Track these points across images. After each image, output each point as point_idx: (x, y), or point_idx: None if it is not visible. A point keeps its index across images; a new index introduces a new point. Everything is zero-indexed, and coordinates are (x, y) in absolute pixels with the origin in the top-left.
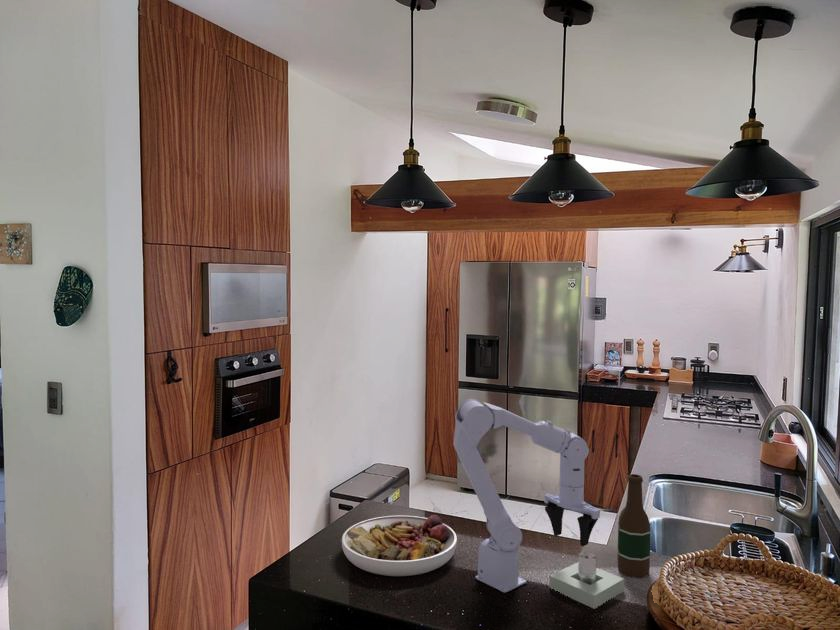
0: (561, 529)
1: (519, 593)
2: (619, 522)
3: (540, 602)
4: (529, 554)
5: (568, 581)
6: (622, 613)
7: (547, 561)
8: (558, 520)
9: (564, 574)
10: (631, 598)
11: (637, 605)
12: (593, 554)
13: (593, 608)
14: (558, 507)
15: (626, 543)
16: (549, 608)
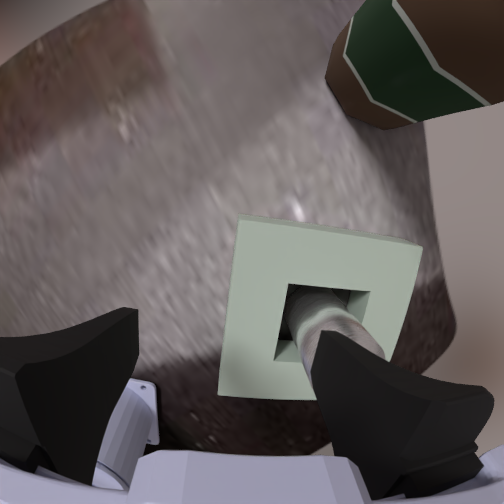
0: (128, 318)
1: (179, 426)
2: (441, 29)
3: (242, 429)
4: (43, 208)
5: (284, 389)
6: (418, 345)
7: (105, 210)
8: (101, 384)
9: (249, 360)
10: (424, 262)
11: (440, 285)
12: (365, 338)
13: None
14: (59, 465)
15: (438, 105)
16: (273, 435)
